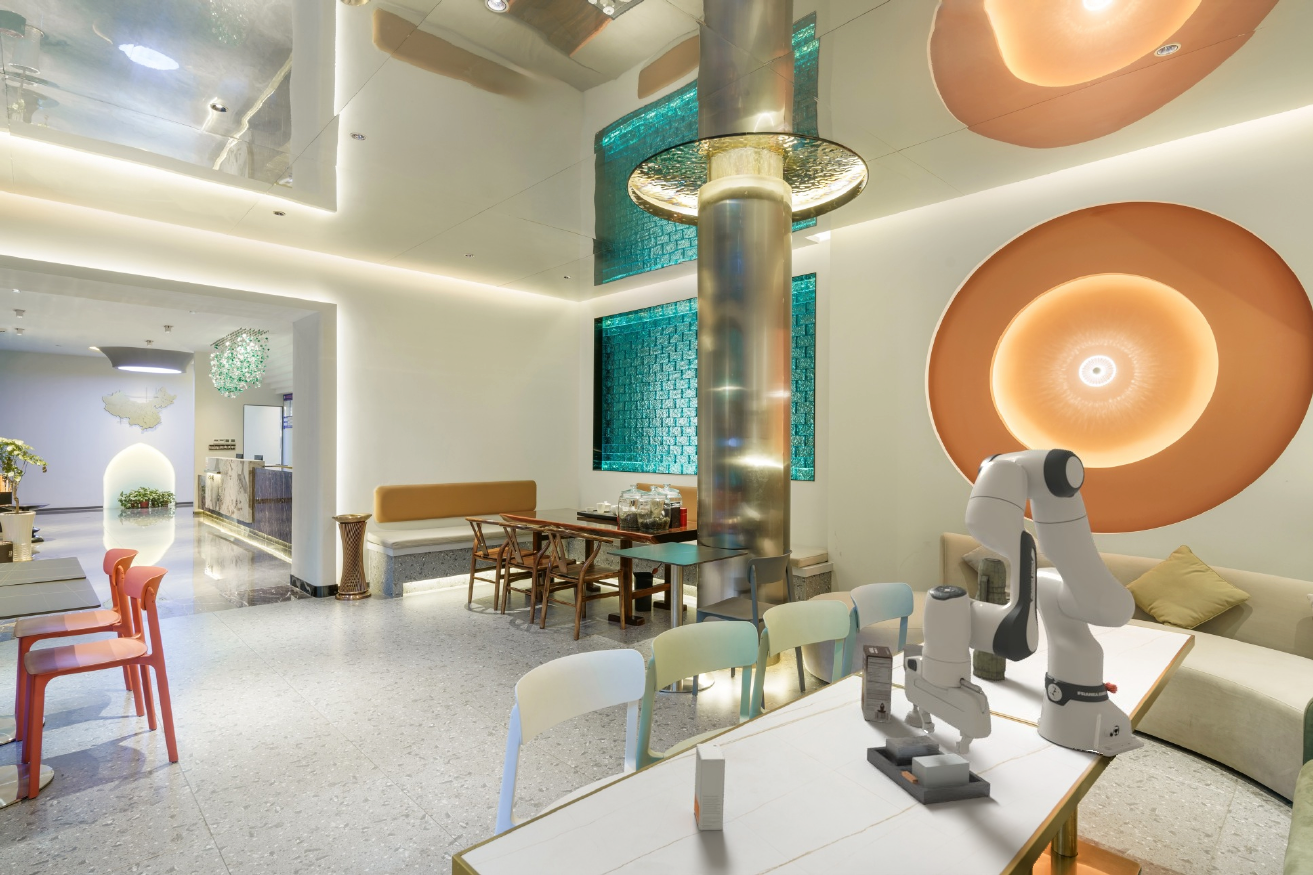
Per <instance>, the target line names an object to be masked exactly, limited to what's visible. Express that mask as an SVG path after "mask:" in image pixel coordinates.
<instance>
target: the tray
mask: <svg viewBox="0 0 1313 875" xmlns="http://www.w3.org/2000/svg"><path fill="white" fill-rule="evenodd" d="M866 748H867V749H866V760H867V761H868V762H869V763H871V764H872V765H873V766H874V767H875V768H877V769H878V770H879V771H881V772H882V773H883V774H884V775H886V776H887V777H888V778H889V779H891V780H892V781H893V782H894V783H896V784H897V785H898V786H900V787H901V788H902V789H903V790H905V791H906V792H907V793H908V794H910V796H912V797H914V798H915V799H916V800H917V801H918V802H920V803H921V804H922V805H928V804H929V805H930V804H931V805H932V804H937V803H938V804H939V803H946V802H954V801H960V800H963V801H964V800H969V799H970V800H971V799H977V798H978V799H979V798H986V797H990V796H991V783H990V782H989V781H987V780H986V779H984V778H982V777H981V776H980V775H978V774H976V773H975V772H973V771H972V770H970V769H969V783H964V784H956V785H947V786H939V787H930V788H924V787H923V786H921V785H920V784H919V783H917V782H918V779H917V778H916V777H914V776H913V775H912V758H914V757H924V756H934V755H944V754H945V753H944V752H943V751H941V749H940V743H939V742H938V741H937V740H935V739H933V738H931V737H930V736H928V735H927V734H925V735H917V736H915V735H914V736H905V737H904V736H903V737H893V738H885V746H875V747H866Z"/></svg>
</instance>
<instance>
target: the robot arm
mask: <svg viewBox="0 0 1313 875" xmlns="http://www.w3.org/2000/svg"><path fill="white" fill-rule="evenodd" d="M1084 481H1085V468H1084V465H1083V461H1082V460H1081V458H1080V457H1079V456H1077V454H1076V453H1074V452H1073V451H1072V450H1069V449H1068V450H1067V449H1061V448H1052V449H1025V450H1022V451H1014V452H1008V453H1004V454H1003V453H997V454H992V455H989V456H987V457H985V458H984V459H983V460H982V462H981V463H980V465H979V467H978V470H977V478H975V482H974V483H973V487H972V488H971V489H972V490H971V493H970V494H969V495H970V496H969V499H968V502H967V506H966V511H965V516H964V524H965V527H966V530H967V531H968V533H969V534H970V536H971V537H972V538H973V539H974V540H975V541H976V542H977V543H978V544H980V545H982V546H983V547H985V548H986V549H988V550H990V551H991V552H994V553H996V554H997V555H1000V556H1002V557H1004V558H1005V559H1006V560H1008V562H1009V564H1010V565H1009V566H1010V584H1009V585H1010V587H1009V589H1010V590H1009V591H1010V592H1009V601H1008V604H1007V605H997V604H992V603H987V602H981V601H978V600H975V599H974V598H971V597H970V595H969V592H968V591H967V589H964V588H963V587H960V586H956V585H951V584H950V585H949V584H944V585H942V584H941V585H936V586H933V587H932V588H929V589H928V590H927V592H926V595H925V600H924V605H923V613H922V634H923V639H924V640H923V641H924V643H923V645H922V646H923V649H922V655H921V656H912V657H906V658H905V666H906V667H907V668H908V669H907V670H906V672H905V671H904V695H905V697H906V700H907V701H908V702H909V703H911V704H912V705H913V704H915V705H916V706H918V712H919V714H920V717H921V720H922V727H921V728H922V731H924V732H925V733H927V734H934V732H935V725H936V724H935V723H934V722H933V720H932V716H934V717H935V718H937V719H939V720H940V721H942V722H944V723H946V724H947V725H949V726H951V727H952V728H955V729H956V730H958V731H959V736H960V737H961V739H960V740H959V741H955V750H956V751H957V753H960V755H962V756H964V755H968V754H969V753H970V745H971V744H972V742H973V741H974V739H975V740H976V739H977V740H978V739H985V738H988V737H989V736H990V735H991V734H992V720H991V719H992V718H991V710H990V708H991V707H990V704H989V700H988V695H987V694H986V693H985V691H984V690H983V688H982V687H981V686H980V685H978V684H974V683H972V682H971V681H972V654H971V652H970V649H973V650H974V649H976V650H980V651H984V652H988V653H992V654H995V655H997V656H1000V657H1003V658H1006V660H1009V661H1012V662H1015V663H1016V662H1017V663H1018V662H1020V661H1023V660H1025V659H1027V658H1029V657H1030V656H1032V655H1033V654H1036V651H1038V650H1037V649H1038V646H1039V641H1040V638H1039V637H1040V633H1039V621H1038V613H1039V616H1040V618H1041V621H1042V624H1043V627H1044V631H1045V634H1046V640H1047V671H1046V672H1045V676H1044V690H1045V691H1044V693H1043V699H1042V704H1041V712H1040V717H1039V718H1038V719H1037V724H1038V726H1037V732H1038V734H1039V735H1040V736H1042V738H1044V739H1046V740H1048V741H1050V742H1052V743H1054V744H1057V745H1060V746H1063V747H1066V748H1069V749H1073V748H1075V749H1074V750H1077V749H1082V750H1093V751H1097V752H1099V753H1103V755H1102V756H1105V757H1113V756H1117V755H1120V754H1123V753H1127V752H1130V751H1133V750H1137V749H1141V748H1143V747H1145V741H1144V740H1142V739H1141V738H1140V737H1138V736H1136V735H1135V734H1133V731H1132V722H1131V719H1130V717H1129V715H1128V714H1127V713H1126V712H1124V710H1122V709H1121V708H1120V707H1119V706H1118V705H1116V703H1115V702H1113V701H1112V700H1111V699H1110V697H1109V694H1108V692H1110V693H1111V694H1113V695H1114V694H1117V692H1118V688H1119V687H1118V686H1117V685H1116V684H1113V683H1110V682H1106V683H1105V682H1104V660H1105V659H1104V657H1105V656H1104V654H1105V653H1104V649H1103V647H1102V645H1101V644H1100V642H1099V641H1098V640H1097V639H1096V638H1095V636H1094V635H1093V633H1092V632H1091V630H1090V628H1089V625H1092V626H1096V627H1103V628H1104V627H1105V628H1121V627H1123V626H1126V625H1127V624H1128V623H1129V622H1130V621H1131V620H1132V618H1133V616H1134V614H1135V612H1136V601H1135V599H1134V596H1133V594H1132V592H1131V591H1130V590H1129V589H1128V588H1127V587H1125V585H1123V584H1122V583H1121V582H1120V580H1118V579H1117V578H1116V577H1115V576H1114V575H1113V573H1111V570H1110V569H1109V567H1108V566H1107V564H1106V563H1105V561H1104V560H1103V558H1102V556H1101V555H1100V553H1099V551H1098V549H1097V547H1096V545H1095V542H1094V537H1093V534H1092V530H1091V526H1090V522H1089V518H1088V513H1087V510H1086V505H1085V501H1084V500H1083V495H1082V493H1081V491H1080V489H1081V488H1082V486H1083V485H1084ZM1028 500H1029V505H1030V512H1031V517H1032V522H1033V526H1034V531H1035V535H1036V539H1037V544H1038V547H1039V550H1040V552H1041V554H1042V555H1043V556H1044V557H1045V558H1046V559H1047V560H1048V561H1049V562H1050V563H1051V564H1052V565H1053V566H1054V567H1049V566H1048V567H1039V568H1038V557H1037V556H1038V553H1037V546H1036V541H1035V539H1034V537H1033V535H1032V534H1031V533H1029V532H1027V531H1026V527H1025V525H1024V524H1025V523H1024V521H1025V520H1024V519H1025V514H1026V508H1027V503H1028ZM1122 745H1123V746H1122ZM1082 750H1081V751H1082Z"/></svg>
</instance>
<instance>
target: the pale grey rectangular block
mask: <svg viewBox="0 0 1313 875" xmlns="http://www.w3.org/2000/svg"><path fill="white" fill-rule="evenodd" d="M969 770H970V761H968V760H966V759H965V758H963V757H962V756H960V755H959V754H956V753H944V755H934V756H924V757H914V758H912V775H913V776H914V777H916V778H917V779H918V782H917V783H919V784H920V785H921V786H923V787H924V788H930V787H939V786H947V785H956V784H964V783H969Z"/></svg>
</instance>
